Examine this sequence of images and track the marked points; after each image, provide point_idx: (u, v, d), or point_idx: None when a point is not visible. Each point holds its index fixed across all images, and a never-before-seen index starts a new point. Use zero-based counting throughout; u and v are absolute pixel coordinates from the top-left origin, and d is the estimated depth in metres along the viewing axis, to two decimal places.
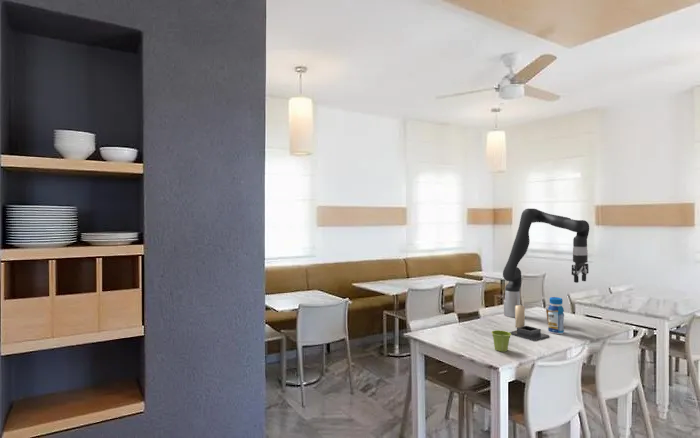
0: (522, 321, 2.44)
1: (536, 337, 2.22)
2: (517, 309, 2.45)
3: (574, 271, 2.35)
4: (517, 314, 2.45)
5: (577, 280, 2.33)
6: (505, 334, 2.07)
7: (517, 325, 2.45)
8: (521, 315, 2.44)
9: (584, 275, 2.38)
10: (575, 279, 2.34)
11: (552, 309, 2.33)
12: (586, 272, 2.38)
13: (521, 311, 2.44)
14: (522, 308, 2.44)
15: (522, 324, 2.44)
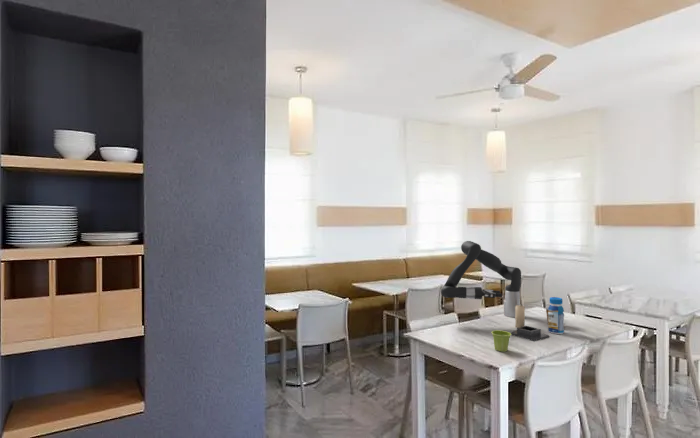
0: (522, 321, 2.44)
1: (536, 337, 2.22)
2: (517, 309, 2.45)
3: (489, 290, 2.54)
4: (517, 314, 2.45)
5: None
6: (505, 334, 2.07)
7: (517, 325, 2.45)
8: (521, 315, 2.44)
9: None
10: None
11: (552, 309, 2.33)
12: None
13: (521, 311, 2.44)
14: (522, 308, 2.44)
15: (522, 324, 2.44)
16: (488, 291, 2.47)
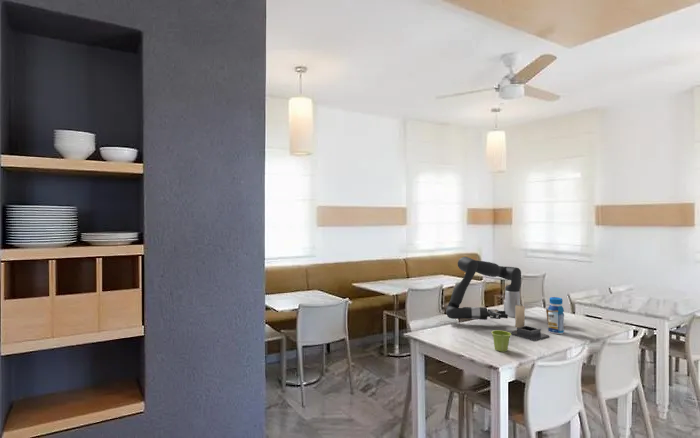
0: (522, 321, 2.44)
1: (536, 337, 2.22)
2: (517, 309, 2.45)
3: None
4: (517, 314, 2.45)
5: None
6: (505, 334, 2.07)
7: (517, 325, 2.45)
8: (521, 315, 2.44)
9: None
10: None
11: (552, 309, 2.33)
12: None
13: (521, 311, 2.44)
14: (522, 308, 2.44)
15: (522, 324, 2.44)
16: (493, 312, 2.47)
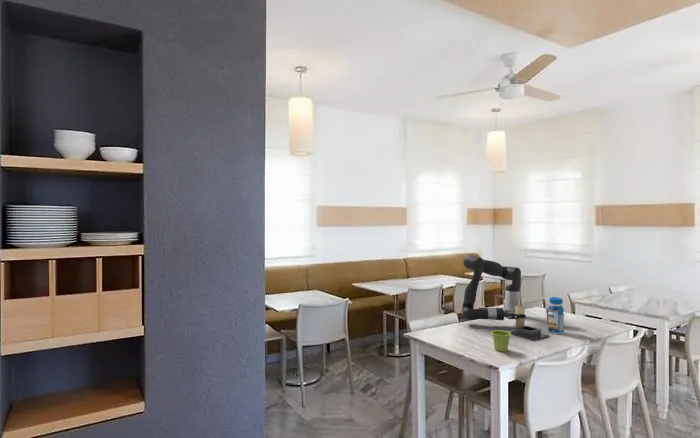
0: (522, 321, 2.44)
1: (536, 337, 2.22)
2: (517, 309, 2.45)
3: None
4: None
5: None
6: (505, 334, 2.07)
7: (517, 325, 2.45)
8: None
9: None
10: None
11: (552, 309, 2.33)
12: None
13: (521, 311, 2.44)
14: (522, 308, 2.44)
15: (522, 324, 2.44)
16: (510, 312, 2.45)
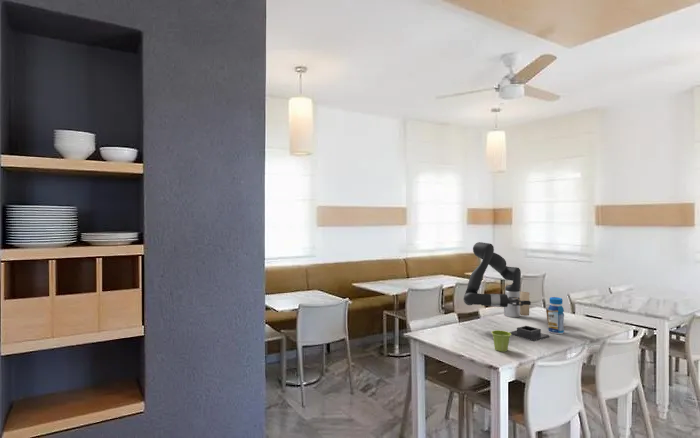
0: (527, 308, 2.33)
1: (536, 337, 2.22)
2: (521, 295, 2.34)
3: (516, 298, 2.39)
4: None
5: None
6: (505, 334, 2.07)
7: (521, 312, 2.34)
8: None
9: None
10: None
11: (552, 309, 2.33)
12: None
13: (526, 298, 2.33)
14: (527, 294, 2.33)
15: (527, 311, 2.33)
16: (515, 299, 2.34)
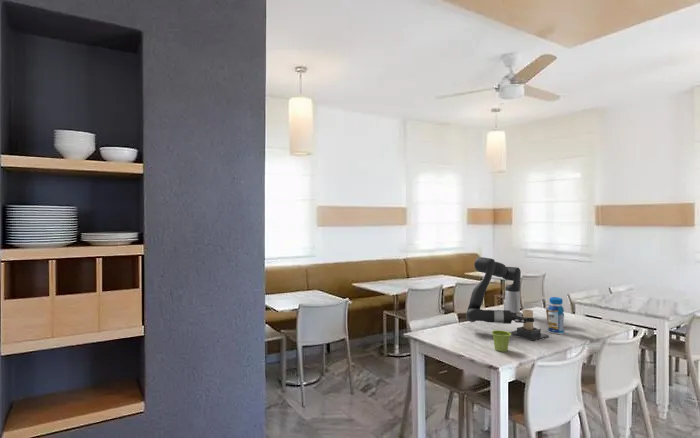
0: (531, 327, 2.27)
1: (536, 337, 2.22)
2: (525, 314, 2.28)
3: None
4: None
5: None
6: (505, 334, 2.07)
7: None
8: None
9: None
10: None
11: (552, 309, 2.33)
12: None
13: (529, 317, 2.26)
14: (530, 313, 2.26)
15: (531, 330, 2.27)
16: (518, 315, 2.28)
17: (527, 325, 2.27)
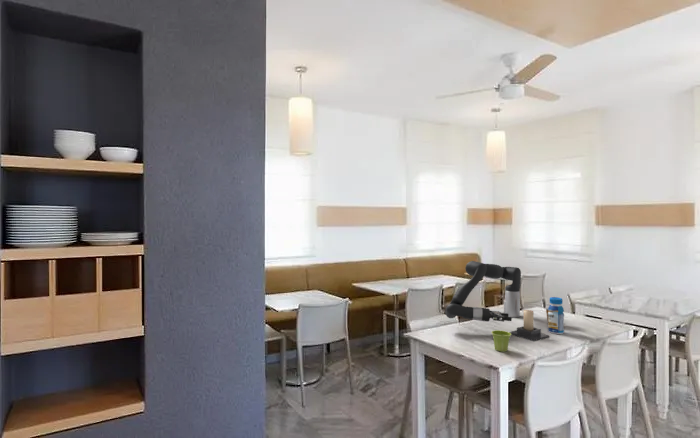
0: (531, 327, 2.27)
1: (536, 337, 2.22)
2: (525, 314, 2.28)
3: (497, 312, 2.37)
4: (525, 319, 2.28)
5: None
6: (505, 334, 2.07)
7: None
8: (530, 321, 2.27)
9: None
10: None
11: (552, 309, 2.33)
12: None
13: (530, 317, 2.27)
14: (531, 313, 2.27)
15: (531, 330, 2.27)
16: (496, 313, 2.31)
17: (527, 325, 2.27)
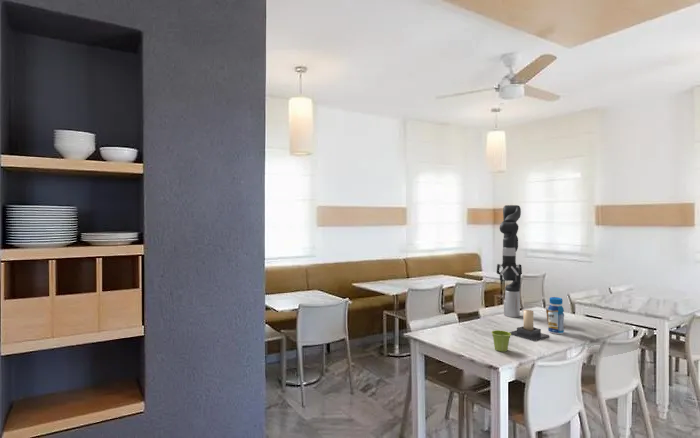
0: (531, 327, 2.27)
1: (536, 337, 2.22)
2: (525, 314, 2.28)
3: None
4: (525, 319, 2.28)
5: (501, 279, 2.47)
6: (505, 334, 2.07)
7: None
8: (530, 321, 2.27)
9: (516, 276, 2.45)
10: (500, 278, 2.48)
11: (552, 309, 2.33)
12: (517, 273, 2.44)
13: (530, 317, 2.27)
14: (531, 313, 2.27)
15: (531, 330, 2.27)
16: None
17: (527, 325, 2.27)
